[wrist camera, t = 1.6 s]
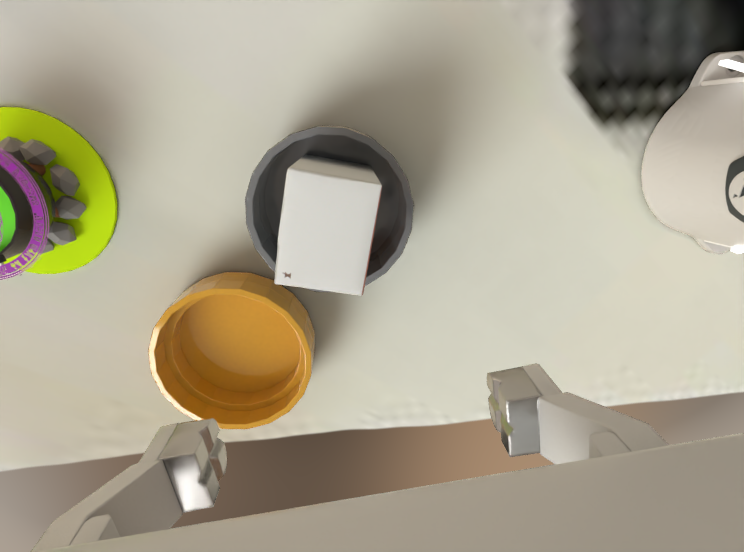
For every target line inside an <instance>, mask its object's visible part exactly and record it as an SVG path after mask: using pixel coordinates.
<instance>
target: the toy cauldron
mask: <svg viewBox="0 0 744 552" xmlns="http://www.w3.org/2000/svg"><path fill="white" fill-rule="evenodd" d="M116 221H117V199H116V193H115V187H114V185H113V182H112V179H111V177H110V174H109V171H108V170H107V168H106V166H105V165H104V163H103V161H102V159H101V158H100V156H99V155H98V154H97V152H96V151H95V150H94V149H93V148H92V146H91V145H90V144H89V143H88V142H87V141H86V140H85V139H84V138H83V137H82V136H80V135H79V134H78V133H77V132H76V131H75V130H74V129H72V128H70V127H69V126H67V125H66V124H64V123H62V122H61V121H59V120H58V119H56V118H53V117H51V116H48V115H46V114H44V113H41V112H39V111H34V110H30V109H25V108H20V107H0V276H2V275H5V274H6V273H11V272H14V271H16V270H18V269H19V271H17V272H15V273H17V274H16V275H18V274H20V273H22V272H24V271H27V272H32V273H38V274H56V273H62V272H67V271H72V270H74V269H77V268H79V267H81V266H84V265H86V264H87V263H89V262H90V261H92V260H93V259H95V258H96V257H97V256H98V255H99V254H100V253H101V252H102V251H103V250H104V248H105V247H106V246H107V244H108V242H109V241H110V239H111V237H112V235H113V232H114V228H115V225H116ZM5 268H6V270H5ZM15 268H16V269H15ZM20 271H22V272H20ZM18 272H19V273H18ZM15 273H12V274H10V275H14V274H15ZM10 275H6V276H2V277H0V278H3V277H4V278H3V279H6V278H5V277H7V276H10ZM16 275H14V276H16ZM11 277H13V276H11ZM8 278H10V277H8ZM0 280H1V279H0Z"/></svg>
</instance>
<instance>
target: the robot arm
mask: <svg viewBox="0 0 744 552" xmlns="http://www.w3.org/2000/svg"><path fill="white" fill-rule="evenodd" d="M728 68H731V69H730V70H728ZM641 183H642V190H643V194H644V197H645V200H646V203H647V205H648V207H649V208H650V210H651V211H652V213H653V214H654V215H655V217H656V218H657V219H658V220H659V221H661V222H662V223H663V224H665V225H666V226H668V227H669V228H671V229H674V230H676V231H679V232H682V233H685V234H687V235H690V236H691V237H693V238H694V239H695V240H696V242H697V243H698V244H699V245H700V246H701V247H702V248H703V249H704V250H706V251H708V252H711V253H715V254H723V253H726V252H728V251H730V250H731V251H732V252H735V253H738V254H740V253H743V252H744V51H733V52H719V53H713V54H711V55H709V56H708V57H706V58H705V59H704V61H703V62H702V63H701V65H700V67H699V68H698V70H697V72H696V74H695V76H694V78H693V80H692V82H691V84H690V86H689V88H688V89H687V91H686V92H685V93H684V94H683V95H682V96H681V97H680V98H679V99H678V100H677V101H676V102H675V103H674V104H673V105H672V106H671V107H670V109H669V110H668V111H667V112H666V113H665V114H664V116H663V117H662V118H661V120H660V121H659V122H658V124H657V126H656V127H655V129H654V131H653V133H652V134H651V136H650V139H649V141H648V143H647V146H646V149H645V152H644V156H643V161H642V168H641ZM487 386H488V388H489V390H490V392H491V395H490V396H489V398H488V401H489V409H490V414H491V418H492V421H493V424H494V426H495V428H496V430H497V431H499V432H501V438H502V442H503V444H504V446H505V448H506V450H507V452H508V454H509V456H510V457H514V456H521V455H528V454H535V453H540V454H541V455H543V456H544V457H545V458H547V459H548V460H550V461H551V462H553V463H554V465H549V466H542V467H537V468H530V469H524V470H518V471H512V472H507V473H500V474H495V475H488V476H482V477H476V478H471V479H464V480H459V481H453V482H447V483H441V484H435V485H429V486H423V487H417V488H411V489H405V490H399V491H393V492H387V493H382V494H375V495H369V496H363V497H358V498H351V499H345V500H339V501H333V502H327V503H322V504H316V505H309V506H304V507H298V508H292V509H285V510H280V511H274V512H268V513H261V514H255V515H250V516H244V517H238V518H232V519H225V520H219V521H213V522H207V523H202V524H196V525H190V526H184V527H178V528H172V529H170V528H171V527H172V526H173V525H174V523H175V522H176V521H177V520H178V519H179V518H180V517H181V516H182V514H183V512H188V511H193V510H198V509H203V508H208V507H213V506H214V503H215V500H216V497H217V494H218V491H219V489H220V487H219V484H218V481H219V480H220V479H221V478H222V477H223V476H224V474H225V470H226V465H227V454H226V449H225V445H224V442H223V441H221V440H220V439H219V438H217V435H218V433H219V430H220V429H219V427H218V424H217V421H216V420H215V419H213V418H211V419H204V420H197V421H190V422H183V423H176V424H170V425H165V426H162V427H160V428H159V430H158V432H157V433H156V435H155V437H154V438H153V440H152V442H151V443H150V445H149V446H148V448H147V450H146V451H145V453H144V455H143V456H142V458H141V460H140V461H139V463H138V464H133V465H131V466H130V467H129V468H127V469H126V470H124V471H123V472H122V473H121V474H119V475H117V476H116V477H115V478H113V479H112V480H111V481H109V482H108V483H106V484H105V485H103V486H102V487H101V488H99V489H98V490H97V491H95V492H94V493H92V494H91V495H90V496H88V497H87V498H85V499H84V500H83V501H81V502H80V503H79V504H77V505H76V506H74V507H73V508H72V509H70V510H69V511H67V512H66V513H65V514H63V515H62V516H60V517H59V518H57V519H56V520H55V521H53V522H52V523H51V525H50V526H49V527H48V529H47V530H46V531H45V533H44V534H43V535H42V537H41V538H40V539H39V541H38V542H37V543H36V545H35V546H34V548H33V549H32V550H31V552H744V433H740V434H734V435H728V436H722V437H716V438H710V439H705V440H698V441H692V442H687V443H680V444H674V445H669V444H668V443H667V442H666V441H665V440H664V439H663V438H662V437H661V436H660V435H659V434H658V433H657V432H656V431H655V430H654V429H653V428H652V427H651V426H650V425H649V424H648V423H646V422H643V421H640V420H638V419H635V418H633V417H630V416H628V415H625V414H622V413H620V412H617V411H615V410H612V409H609V408H607V407H604V406H602V405H599V404H597V403H594V402H591V401H589V400H586V399H584V398H581V397H579V396H576V395H573V394H571V393H568V392H565V393H562V392H561V390H560V389H559V388H558V387H557V386H556V384H555V383H554V382H553V381H552V380H551V378H550V377H549V376H548V375H547V373H546V372H545V371H544V370H543V369H542V367H541V366H540V365H539V364H537V363H536V364H531V365H526V366H521V367H517V368H512V369H507V370H501V371H496V372H491V373H487Z"/></svg>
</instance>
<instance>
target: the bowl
mask: <svg viewBox="0 0 744 552" xmlns="http://www.w3.org/2000/svg"><path fill="white" fill-rule="evenodd" d="M314 350H315V332H314V329H313V326H312V323H311V320H310V317H309V315H308V312H307V311H306V309H305V308H304V307H303V305H302V304H301V303H300V302H299V300H298V299H297V298H296V296H295V295H294V294H293V293H291V292H290V291H289V290H287V289H286V288H284V287H283V286H281V285H278V284H275V283H274V280H271V279H268V278H265V277H262V276H259V275H256V274H253V273H243V272H224V273H221V274H217V275H214V276H210V277H206V278H203V279H201V280H200V281H198V282H197V283H195V284H194V285H192V286H191V287H190V288H188V289H187V290H185V291H184V292H183V293H182V294H181V295H180V296H179V297H178V298H177V299H176V300H175V301H174V302H173V304H172V305H171V306H170V307H169V308H168V309H167V310H166V311H165V313H164V314H163V316H162V317H161V318H160V320H159V321H158V323H157V324H156V325H155V327H154V329H153V332H152V336H151V340H150V344H149V348H148V353H149V361H150V369H151V374H152V376H153V378H154V380H155V382H156V383H157V385H158V387H159V389H160V391H161V393H162V394H163V395H164V396H165V397H166V398H167V399H168V400H169V401H170V403H171V404H172V405H173V406H174V407H175V408H176V409H177V410H179V411H180V412H182V413H184V414H185V415H187V416H189V417H191V418H192V419H194V420H196V421H197V420H204V419H211V418H213V419H215V420H216V421H217V424H218V427H219V428H222V429H249V428H253V427H257V426H261V425H265V424H268V423H271V422H273V421H274V420H276V419H278V418H279V417H281V416H283V415H284V414H286V413H287V412H289V411H290V410H291V409H292V408H293V407H294V405H295V404H296V403H297V402H298V401H299V400H300V398H301V397H302V396H303V395H304V393H305V390H306V387H307V385H308V382H309V379H310V377H311V373H312V366H313V359H314Z"/></svg>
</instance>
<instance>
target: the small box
mask: <svg viewBox="0 0 744 552" xmlns="http://www.w3.org/2000/svg"><path fill="white" fill-rule="evenodd" d="M381 191H382V185H381V183H380V181H379V179H378V178H377V176H376V174H375V173H374V171H373V169H372V167H371V166H368V165H362V164H356V163H351V162H345V161H339V160H334V159H328V158H323V157H317V156H312V155H304V156H302V157H301V158H300V159H299V160H298V161H296V162H295V163H294V164H293V165H292V166H290V167H289V168H288V169H287V174H286V181H285V189H284V197H283V204H282V212H281V219H280V226H279V234H278V248H277V259H276V269H275V280H274V283H275V284H278V285H286V286H295V287H302V288H309V289H316V290H323V291H331V292H338V293H345V294H352V295H359V296H362V295H363V291H364V286H365V281H366V275H367V270H368V265H369V259H370V253H371V248H372V242H373V237H374V231H375V225H376V219H377V213H378V208H379V203H380V197H381Z"/></svg>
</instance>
